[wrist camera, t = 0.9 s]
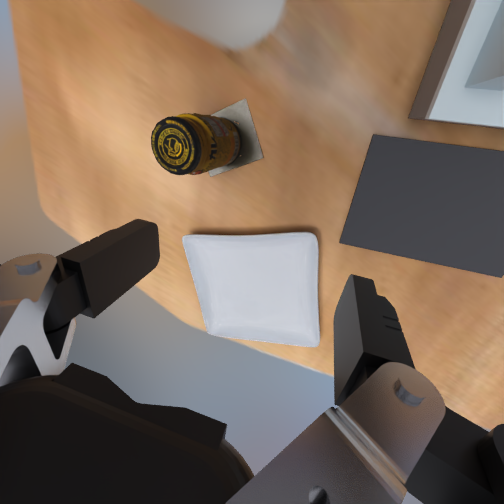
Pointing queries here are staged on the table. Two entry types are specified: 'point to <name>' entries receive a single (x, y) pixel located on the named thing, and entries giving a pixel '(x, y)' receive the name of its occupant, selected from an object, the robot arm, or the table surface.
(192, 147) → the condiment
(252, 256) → the salad plate
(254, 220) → the table surface
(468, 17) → the lid
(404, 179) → the mat
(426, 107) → the tub
